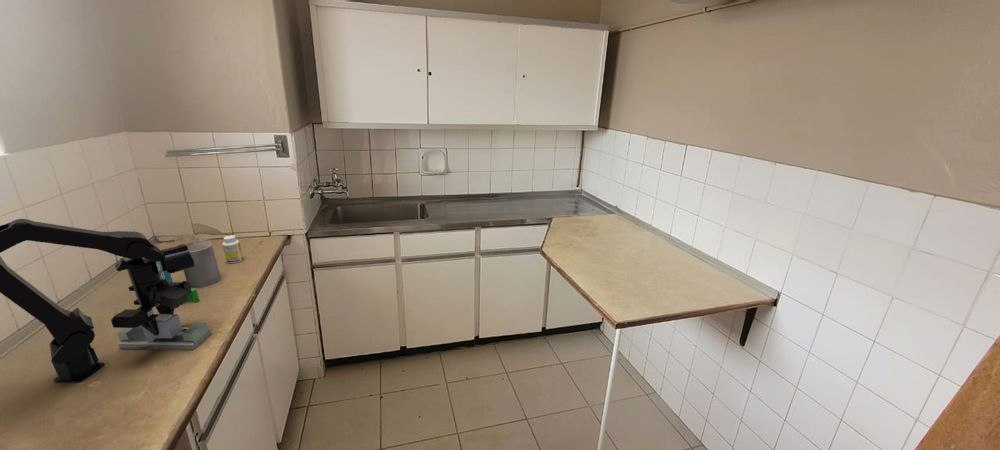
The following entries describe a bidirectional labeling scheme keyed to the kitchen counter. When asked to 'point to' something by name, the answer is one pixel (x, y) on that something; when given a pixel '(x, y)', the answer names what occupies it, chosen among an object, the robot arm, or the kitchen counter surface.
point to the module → (166, 326)
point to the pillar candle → (202, 265)
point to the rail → (180, 341)
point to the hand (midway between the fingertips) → (163, 330)
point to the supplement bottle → (232, 249)
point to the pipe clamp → (193, 296)
